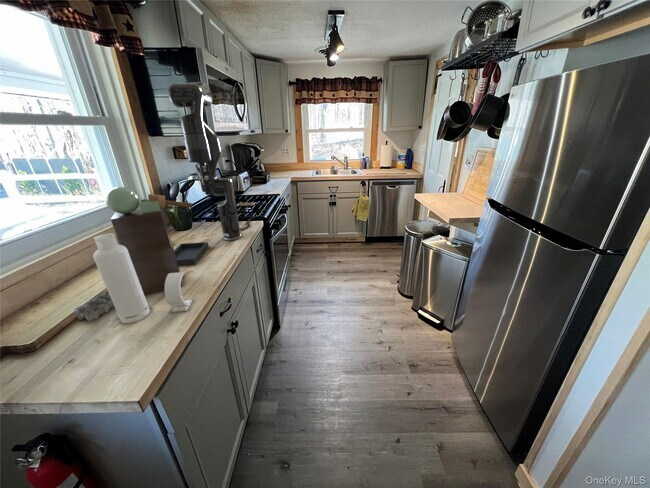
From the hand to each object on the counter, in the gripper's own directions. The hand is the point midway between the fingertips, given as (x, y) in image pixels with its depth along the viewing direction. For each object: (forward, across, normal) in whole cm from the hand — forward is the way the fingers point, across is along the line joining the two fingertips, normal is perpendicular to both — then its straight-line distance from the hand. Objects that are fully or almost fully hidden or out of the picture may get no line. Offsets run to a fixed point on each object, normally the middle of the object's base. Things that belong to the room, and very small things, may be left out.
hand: (207, 193), depth 98 cm
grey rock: (+34, -4, +42) cm, 54 cm away
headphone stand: (+34, -18, +18) cm, 43 cm away
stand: (+34, +2, +23) cm, 41 cm away
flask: (+4, +1, +23) cm, 24 cm away
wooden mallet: (+4, +2, +13) cm, 14 cm away
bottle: (+34, -14, +31) cm, 48 cm away
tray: (+33, +26, +12) cm, 43 cm away
